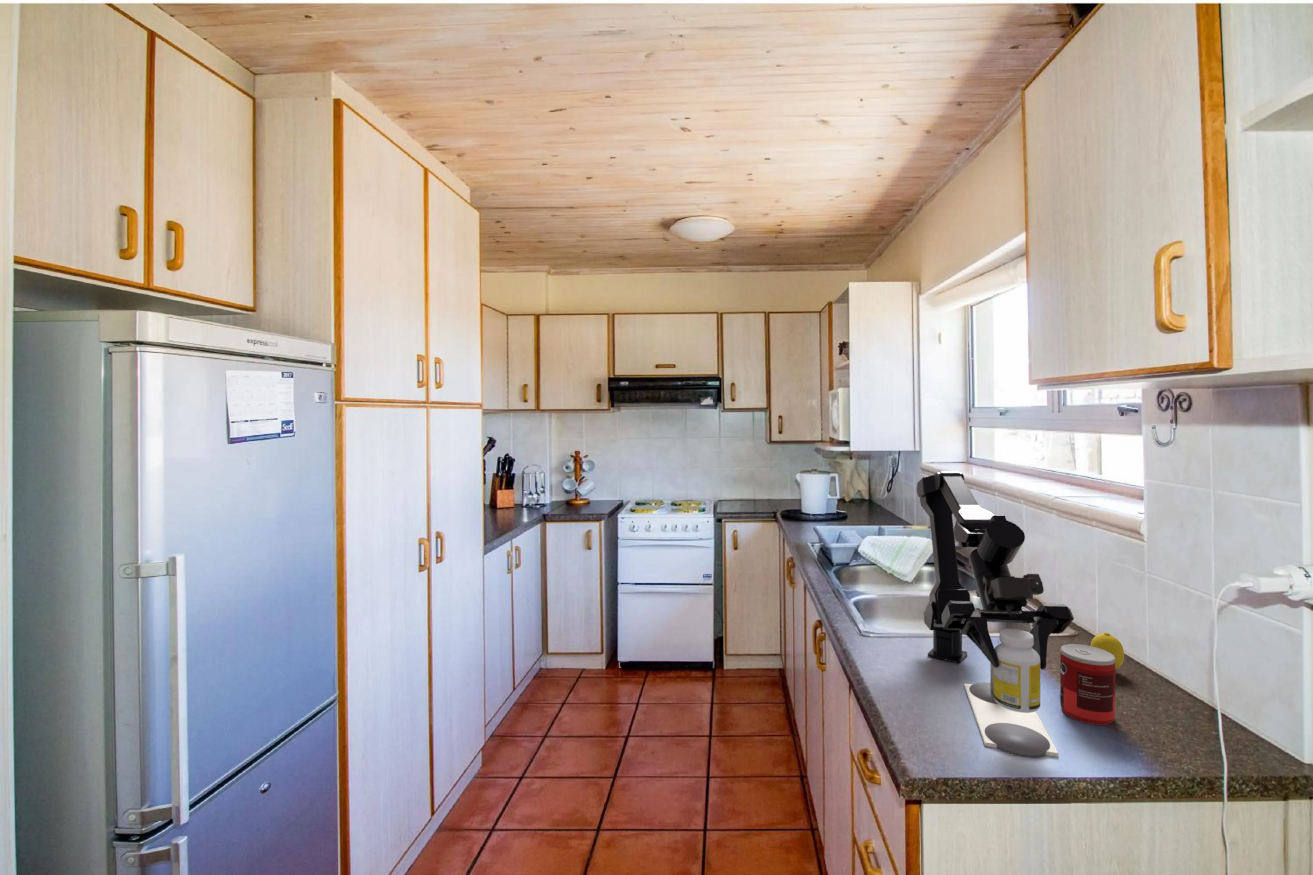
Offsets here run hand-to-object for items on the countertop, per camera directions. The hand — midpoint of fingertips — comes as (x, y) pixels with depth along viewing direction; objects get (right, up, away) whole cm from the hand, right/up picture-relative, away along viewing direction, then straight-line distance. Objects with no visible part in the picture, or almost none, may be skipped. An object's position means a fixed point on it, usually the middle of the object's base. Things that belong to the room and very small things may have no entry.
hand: (1020, 667), depth 95 cm
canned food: (+18, -12, +10) cm, 23 cm away
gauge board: (+3, -12, +9) cm, 16 cm away
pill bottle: (0, -7, +2) cm, 7 cm away
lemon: (+33, -11, +26) cm, 44 cm away
